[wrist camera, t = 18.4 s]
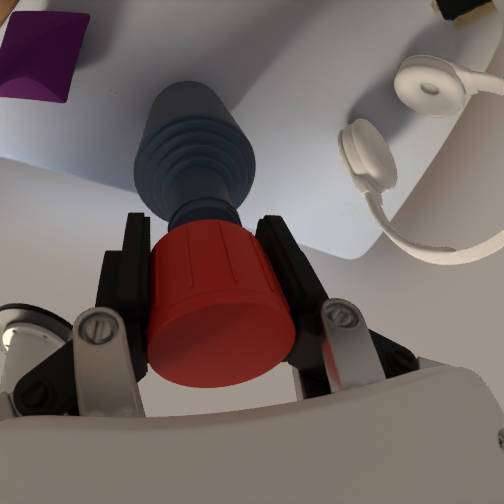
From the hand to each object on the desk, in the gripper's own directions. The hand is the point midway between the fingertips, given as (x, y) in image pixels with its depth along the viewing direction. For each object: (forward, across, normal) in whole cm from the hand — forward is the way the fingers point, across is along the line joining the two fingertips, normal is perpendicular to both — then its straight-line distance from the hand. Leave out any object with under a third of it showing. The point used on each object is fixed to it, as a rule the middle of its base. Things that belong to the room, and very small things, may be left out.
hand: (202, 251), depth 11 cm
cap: (-1, 0, 0) cm, 1 cm away
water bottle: (+19, 0, 0) cm, 19 cm away
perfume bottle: (+19, +13, -7) cm, 24 cm away
